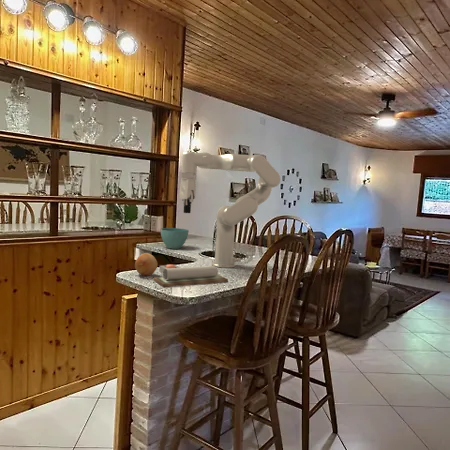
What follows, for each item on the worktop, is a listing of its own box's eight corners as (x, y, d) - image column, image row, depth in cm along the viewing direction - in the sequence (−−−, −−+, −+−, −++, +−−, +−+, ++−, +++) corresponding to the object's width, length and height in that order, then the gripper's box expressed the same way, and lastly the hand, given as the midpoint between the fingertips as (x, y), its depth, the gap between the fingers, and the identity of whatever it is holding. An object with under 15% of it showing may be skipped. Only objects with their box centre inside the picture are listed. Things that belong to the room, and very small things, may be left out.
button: (172, 270, 180) (173, 264, 180) (176, 272, 177) (176, 265, 177) (164, 270, 178) (165, 264, 178) (168, 272, 175) (168, 266, 175)
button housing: (174, 269, 183) (175, 264, 183) (181, 273, 176) (182, 268, 176) (159, 270, 179) (159, 265, 179) (165, 274, 172) (165, 269, 172)
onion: (158, 277, 165) (159, 255, 164) (134, 278, 163) (135, 255, 162) (156, 272, 174) (157, 251, 174) (134, 272, 172) (134, 251, 171)
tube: (213, 265, 172) (162, 268, 158) (219, 264, 167) (167, 267, 154) (214, 277, 171) (163, 281, 157) (220, 276, 166) (168, 280, 153)
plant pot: (155, 248, 241) (156, 229, 240) (166, 244, 259) (166, 227, 258) (182, 251, 237) (183, 231, 236) (191, 247, 255) (192, 229, 254)
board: (215, 276, 175) (215, 273, 175) (227, 281, 166) (227, 278, 166) (153, 280, 160) (153, 277, 160) (163, 287, 151) (163, 283, 150)
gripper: (176, 176, 196) (174, 211, 197) (188, 176, 183) (186, 214, 185) (189, 177, 200) (187, 211, 201) (202, 177, 187) (200, 214, 188)
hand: (186, 212), depth 193 cm, fingers closed
